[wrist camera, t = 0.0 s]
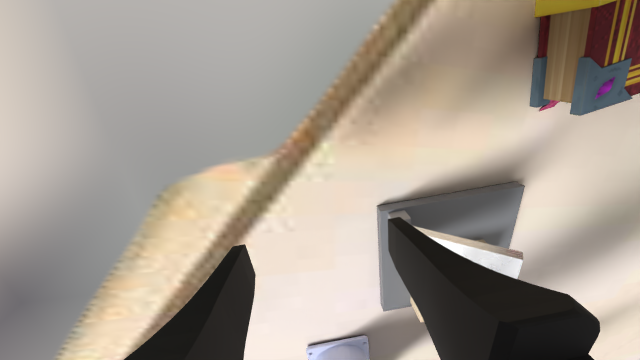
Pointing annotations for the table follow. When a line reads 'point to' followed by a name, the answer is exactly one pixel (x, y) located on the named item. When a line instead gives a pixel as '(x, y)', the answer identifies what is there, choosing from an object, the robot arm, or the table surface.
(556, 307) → the robot arm
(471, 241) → the grey flat plate
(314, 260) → the table surface
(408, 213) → the board
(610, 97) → the decorative book
